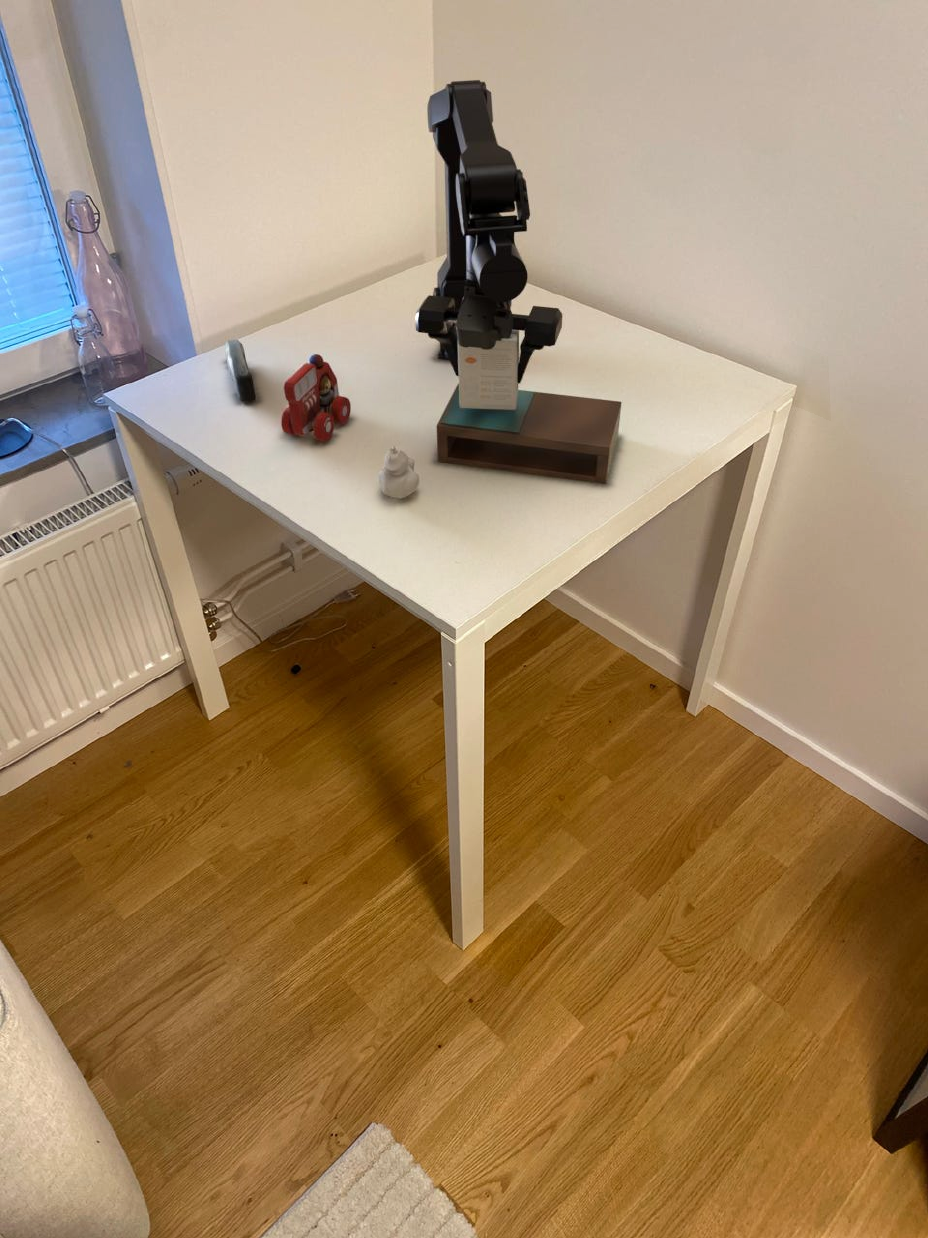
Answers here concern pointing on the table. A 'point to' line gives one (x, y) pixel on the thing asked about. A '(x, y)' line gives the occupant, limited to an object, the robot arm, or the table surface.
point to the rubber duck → (398, 474)
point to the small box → (489, 375)
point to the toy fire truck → (314, 401)
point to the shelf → (533, 436)
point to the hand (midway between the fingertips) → (488, 378)
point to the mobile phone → (240, 371)
